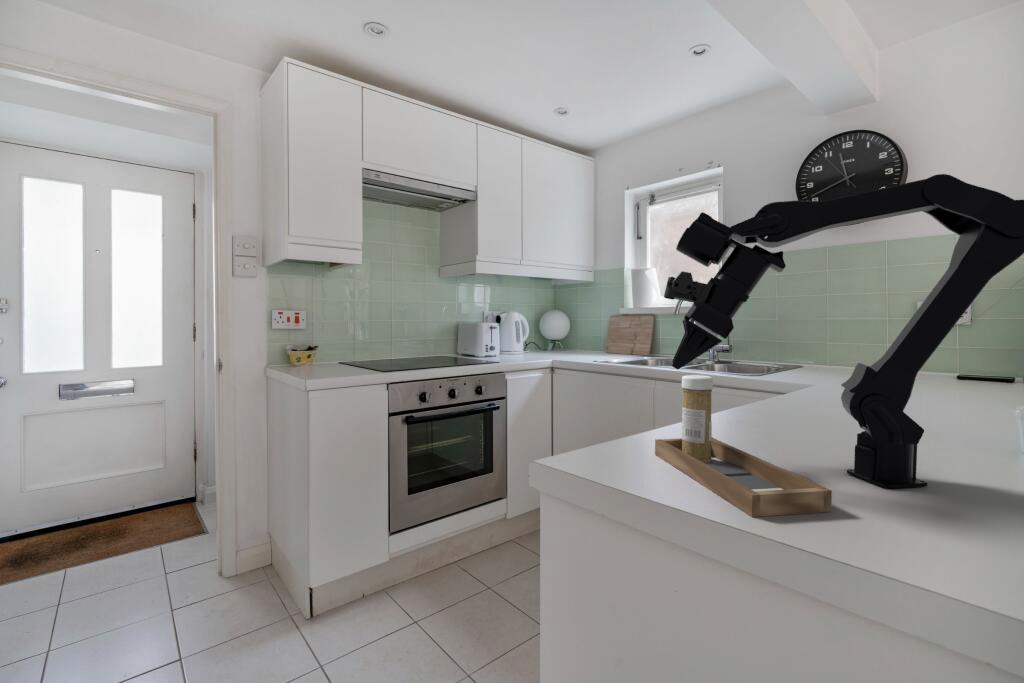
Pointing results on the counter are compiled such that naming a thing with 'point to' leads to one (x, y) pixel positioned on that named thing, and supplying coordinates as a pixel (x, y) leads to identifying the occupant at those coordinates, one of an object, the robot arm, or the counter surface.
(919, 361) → the robot arm
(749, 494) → the box
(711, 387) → the spice jar
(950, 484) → the counter surface
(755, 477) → the mats
